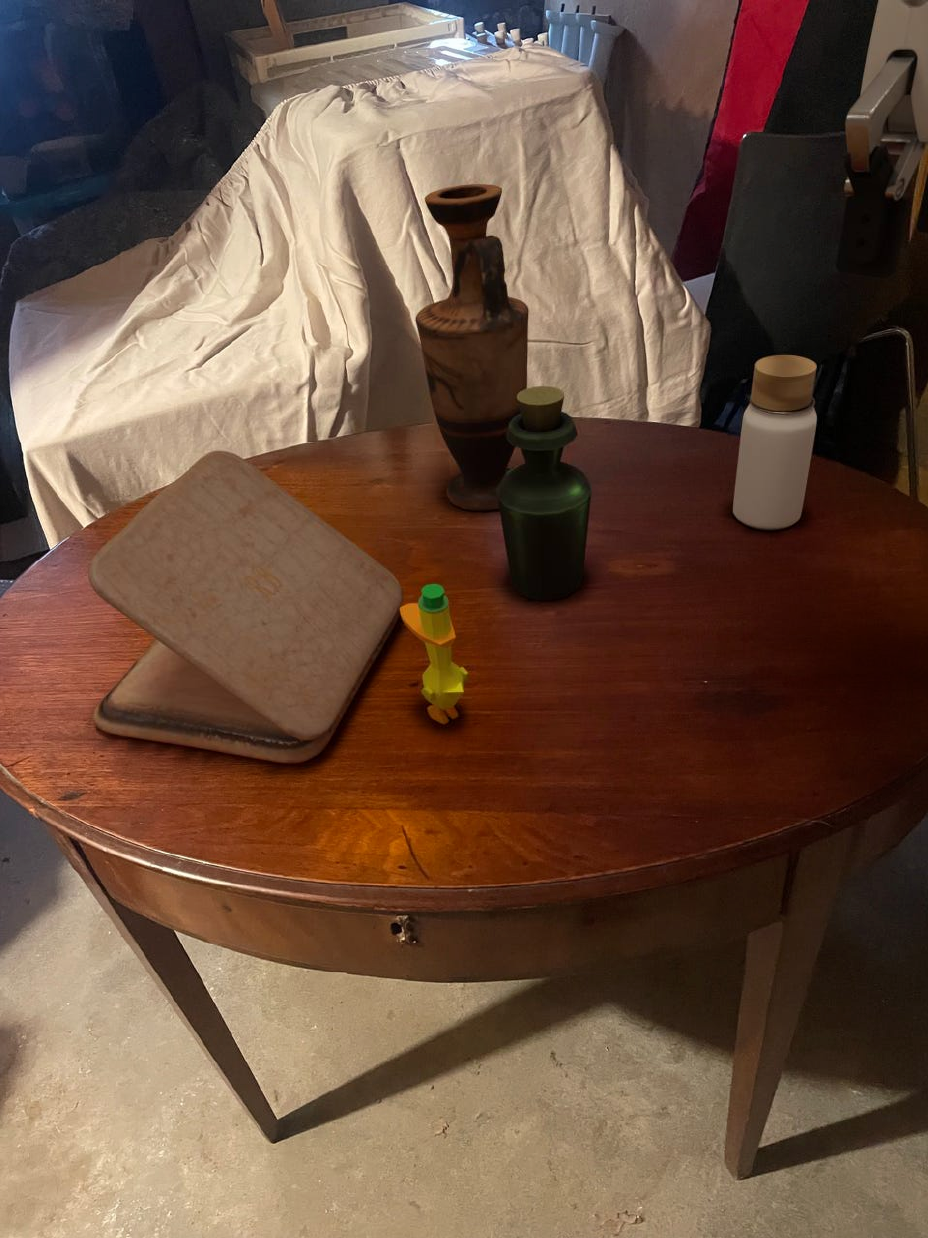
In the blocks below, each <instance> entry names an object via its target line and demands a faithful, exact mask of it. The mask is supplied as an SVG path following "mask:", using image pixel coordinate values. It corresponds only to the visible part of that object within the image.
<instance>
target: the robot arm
mask: <svg viewBox="0 0 928 1238" xmlns="http://www.w3.org/2000/svg"><path fill="white" fill-rule="evenodd" d="M870 34H871V35H870V39H869V43H868V44H869V45H868V48H867V53H866V59H865V66H864V72H863V77H862V83H861V89H860V96H859V97H858V99H857V100H856V101H855V102H854V104H853V105H852V106H851V107H850V109H849V111H848V112H847V114H846V117H845V122H844V124H845V125H844V127H845V137H846V138H845V139H846V149H847V151H846V153H845V155H844V157H843V158H844V162H843V164H844V169H845V172H846V175H847V177H846V179H845V183H844V188H843V192H844V195H845V197H846V201H845V208H844V212H843V213H844V214H843V220H842V225H841V231H840V238H839V243H838V244H839V245H838V250H837V256H836V263H835V266H836V267H835V268H836V270H838V272H840V273H846V274H851V275H858V276H864V277H872V278H879V279H888V278H891V277H892V276H893V275H894V274H896V272H897V269H898V265H899V260H900V256H901V255H900V254H901V249H902V245H903V240H904V234H905V229H906V226H907V220H908V215H909V210H910V205H911V200H912V197H910V196H909V197H908V196H903V195H904V194H905V192H906V190H907V188H908V185H909V184H910V182H911V179H912V177H913V175H914V173H915V171H916V169H917V167H918V164H919V162H920V160H921V159H922V156H923V154H924V153H925V150H926V149H927V146H928V0H878V1H877V6H876V11H875V15H874V20H873V25H872V29H871V33H870ZM891 155H895V156H896V155H897V156H899V158H898V159H897V161H896V164H895V166H894V165H893V163H892V160H891ZM917 216H918V217H917V220H916V230H917V231H918V232H920V233H926V234H928V172H926V178H925V183H924V188H923V192H922V197H921V201H920V207H919V211H918V215H917Z"/></svg>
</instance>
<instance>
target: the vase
mask: <svg viewBox="0 0 928 1238" xmlns="http://www.w3.org/2000/svg"><path fill="white" fill-rule="evenodd" d="M502 194H503V188H502V187H500V186H498V185H495V184H484V183H473V184H472V183H471V184H469V183H468V184H460V185H455V186H449V187H448V186H447V187H444V188H440V189H438V190H435V191H432V192H430V193H428V194H426V196H425V197H424V202H425V205H426V207H427V209H428V211H429V214H430V215H431V217H432V218H433V220H434V221H435V223H437V224H438V225H439V226H442V227H443V229H444V230H445V232H446V235H447V236H448V241H449V246H450V259H451V268H452V269H451V270H452V284H451V290H450V292H449V295H448V297H447V298H445V299H442V300H438V301H435V302H433V303H430V304H427V305H426V306H424V307H423V308H421V309H420V310H419V311H418V312H417V314H416V316H415V320H414V321H415V325H416V328H417V332H418V333H417V334H418V337H419V341H420V348H421V353H422V359H423V364H424V365H423V366H424V369H425V375H426V380H427V385H428V390H429V396H430V401H431V406H432V409H433V413H434V416H435V421H436V424H437V425H438V429H439V431H440V435H441V436H442V439H443V441H444V443H445V445H446V448H447V449H448V451H449V452H450V454H451V456H452V458H453V460H454V461H455V463H456V465H457V467H458V469H459V470H460V472H458V473H457V474H456V475H454V476H452V478H451V479H450V480H449V481H448V483H447V487H446V497H447V498H448V499H449V502H450V503H451V504H452V505H453V506H455V507H458V508H460V509H464V510H466V511H467V510H468V511H475V512H484V511H485V512H486V511H487V512H488V511H494V510H495V511H496V510H499V504H498V498H497V488H498V486H499V484H500V482H501V480H502V479H503V477H504V476H505V474H506V473H507V472H508V471H510V470H512V469H513V468H510V467H508V465H509V463H510V462H511V458H512V457H513V454H514V451H515V449H516V447H515V446H513V445H512V444H511V443H509V442H508V441H507V436H506V434H507V430H508V427H509V423H510V422H511V420H512V419H513V418H514V417H515V416H517V415H519V414H521V411H520V407H519V403H518V400H517V395H518V393H519V392H521V391H522V390H524V389H527V388H528V353H529V352H528V351H529V348H528V347H529V346H528V344H529V342H528V341H529V340H528V339H529V338H528V337H529V314H530V313H529V312H530V311H529V307H528V305H527V304H526V303H525V302H523V301H522V300H520V299H519V298H516V297H512V296H509V293H508V284H507V282H506V281H505V273H506V266H505V257H504V255H505V254H504V249H503V244H502V241H501V239H500V237H499V236H497V235H496V236H495V235H492V234H491V235H487V229H488V224H489V221H490V220H491V219H492V218H493V217H495V215H496V212H497V209H498V206H499V204H500V201H501V198H502Z"/></svg>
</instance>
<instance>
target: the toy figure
mask: <svg viewBox="0 0 928 1238" xmlns="http://www.w3.org/2000/svg"><path fill="white" fill-rule="evenodd" d="M420 591H421V596H420V597H419V598H418V600H417V602H416V603H413V602H412V603H411V602H410V603H406V604H405V605H401V606H400V608H399V614H400V616H401V620H402V622H403V623H404V625H405V627H406V628H407V629H408V630H409V631H410V632H411V633H412V634H413V635H414V636H415V637H416V638H418V639H419V640H420V641H422V642H423V643H424V645H425V648H426V653H427V655H428V658H429V662H430V664H429V666H428V667H427V668H426V669H425V671H424V672H423V673H422V674H421V678H422V685H423V688H421V694H422V695H423V697H424V698H425V699H426V701H428V702H429V703H430V704H431V705H429V706H428V707H427V708H426V710H427V713H428V715H429V717H430V718H431V719H432V720H434V721H435V722H437V723H440V724H442V725H446V724H447V723H448V722H450V721H449V718H451V719H452V720H454V719H457V718H459V713H458V711H457V709H456V707H455V706H456V705H457V703H458V702H459V701H460V699H461V698H462V696H463V695H464V694H465V692H466V691H465V683H469V672H468V671H467V670H466V669H465V668H464V666H461V667H460V666H459V665H458V664H456V663H455V662H454V661H452V651H453V650H452V647H453V644H454V642H455V641H456V639H457V636H456V633H455V629H454V626H453V623H452V619H451V612H450V605H449V603H450V602H449V598H448V596H446V595H445V589H444V587H443V585H440V584H437V583H430V584H425V586H423V588H422V589H420Z"/></svg>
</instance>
